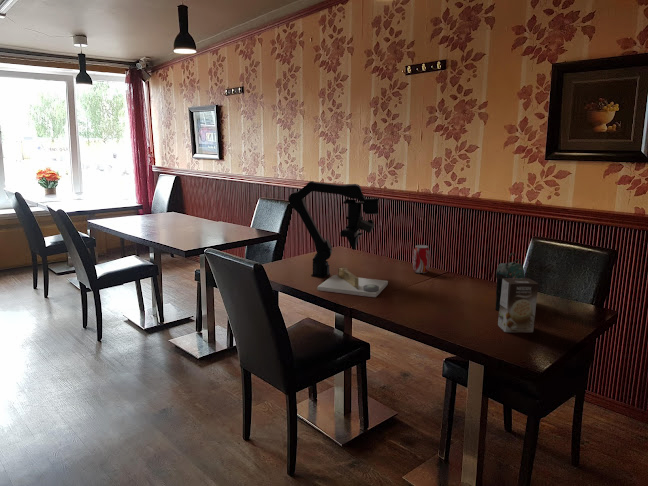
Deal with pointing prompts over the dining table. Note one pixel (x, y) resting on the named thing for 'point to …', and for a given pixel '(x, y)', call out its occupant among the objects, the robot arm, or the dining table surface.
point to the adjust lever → (348, 276)
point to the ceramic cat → (507, 276)
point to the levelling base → (342, 286)
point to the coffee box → (517, 304)
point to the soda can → (421, 259)
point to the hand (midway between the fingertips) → (353, 249)
